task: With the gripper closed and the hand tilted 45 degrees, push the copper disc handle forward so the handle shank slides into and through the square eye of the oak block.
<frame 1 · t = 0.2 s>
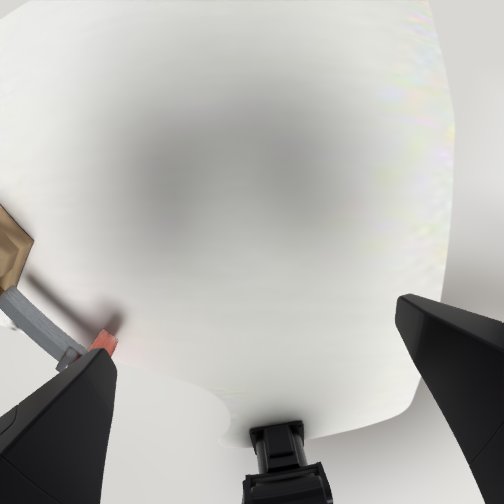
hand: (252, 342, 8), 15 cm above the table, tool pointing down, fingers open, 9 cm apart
copper disc handle: (42, 341, 18), point 5 cm above the table, slide at 0.0 cm
eye block: (3, 252, 20), on the table
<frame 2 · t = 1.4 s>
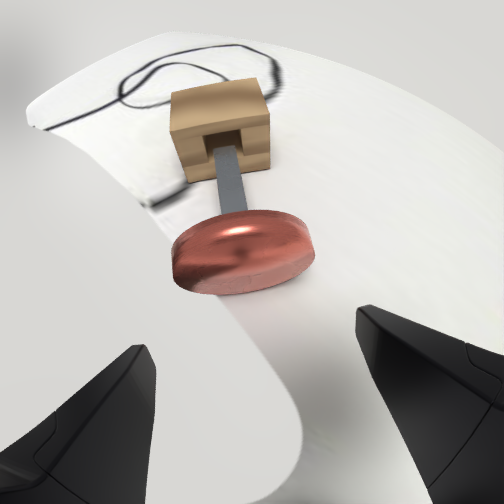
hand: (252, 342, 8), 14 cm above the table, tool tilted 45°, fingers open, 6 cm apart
copper disc handle: (232, 199, 20), point 5 cm above the table, slide at 0.0 cm
eye block: (225, 153, 28), on the table
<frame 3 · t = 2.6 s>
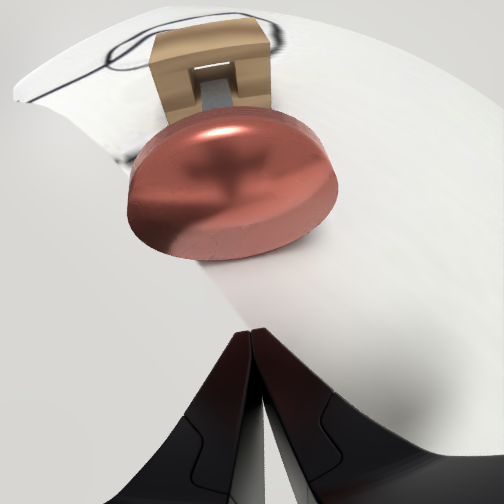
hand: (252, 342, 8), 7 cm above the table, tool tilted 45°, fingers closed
copper disc handle: (221, 130, 14), point 5 cm above the table, slide at 0.0 cm
eye block: (218, 103, 22), on the table
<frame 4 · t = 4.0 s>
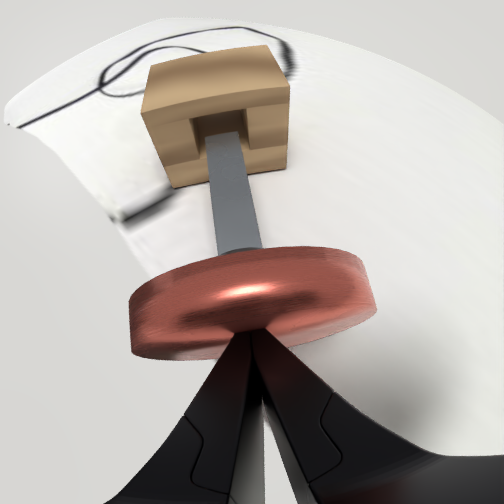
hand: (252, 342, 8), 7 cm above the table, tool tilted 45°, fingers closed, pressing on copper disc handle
copper disc handle: (234, 215, 12), point 5 cm above the table, slide at 0.1 cm, touching gripper
eye block: (224, 147, 21), on the table
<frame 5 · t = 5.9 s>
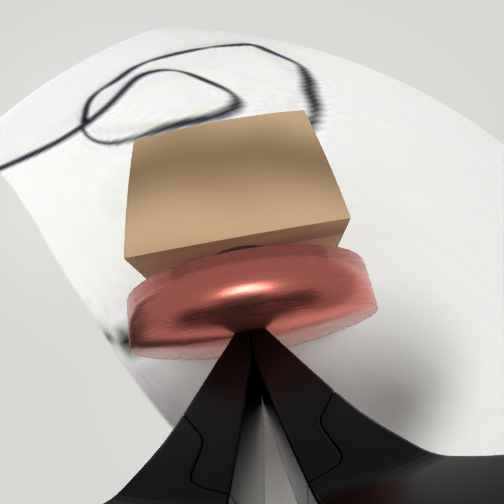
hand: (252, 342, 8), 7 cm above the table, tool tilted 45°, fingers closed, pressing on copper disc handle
copper disc handle: (233, 213, 12), point 5 cm above the table, slide at 8.6 cm, touching eye block, gripper
eye block: (240, 246, 17), on the table
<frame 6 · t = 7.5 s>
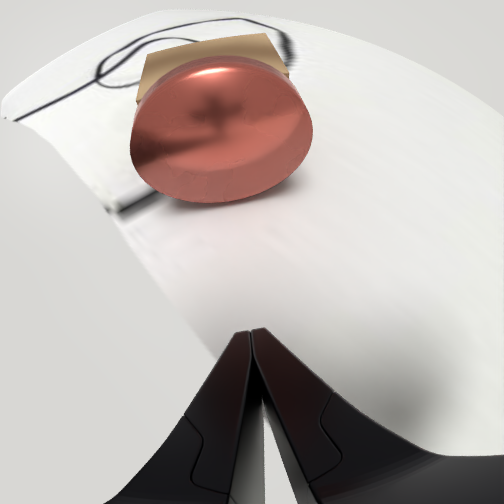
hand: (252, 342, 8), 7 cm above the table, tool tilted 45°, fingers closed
copper disc handle: (213, 90, 15), point 5 cm above the table, slide at 8.6 cm, touching eye block
eye block: (222, 137, 20), on the table
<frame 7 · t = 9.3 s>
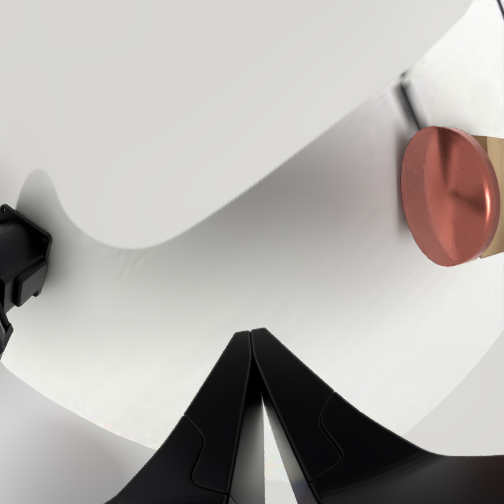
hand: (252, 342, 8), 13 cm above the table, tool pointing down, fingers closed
copper disc handle: (485, 192, 15), point 5 cm above the table, slide at 8.6 cm, touching eye block
eye block: (452, 180, 20), on the table
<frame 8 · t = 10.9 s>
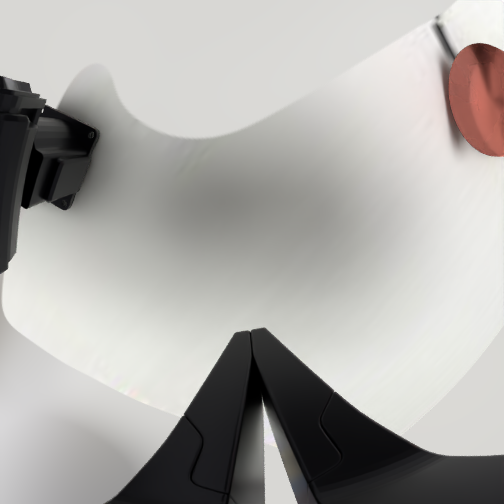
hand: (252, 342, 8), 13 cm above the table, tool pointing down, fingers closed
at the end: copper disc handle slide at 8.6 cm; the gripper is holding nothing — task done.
